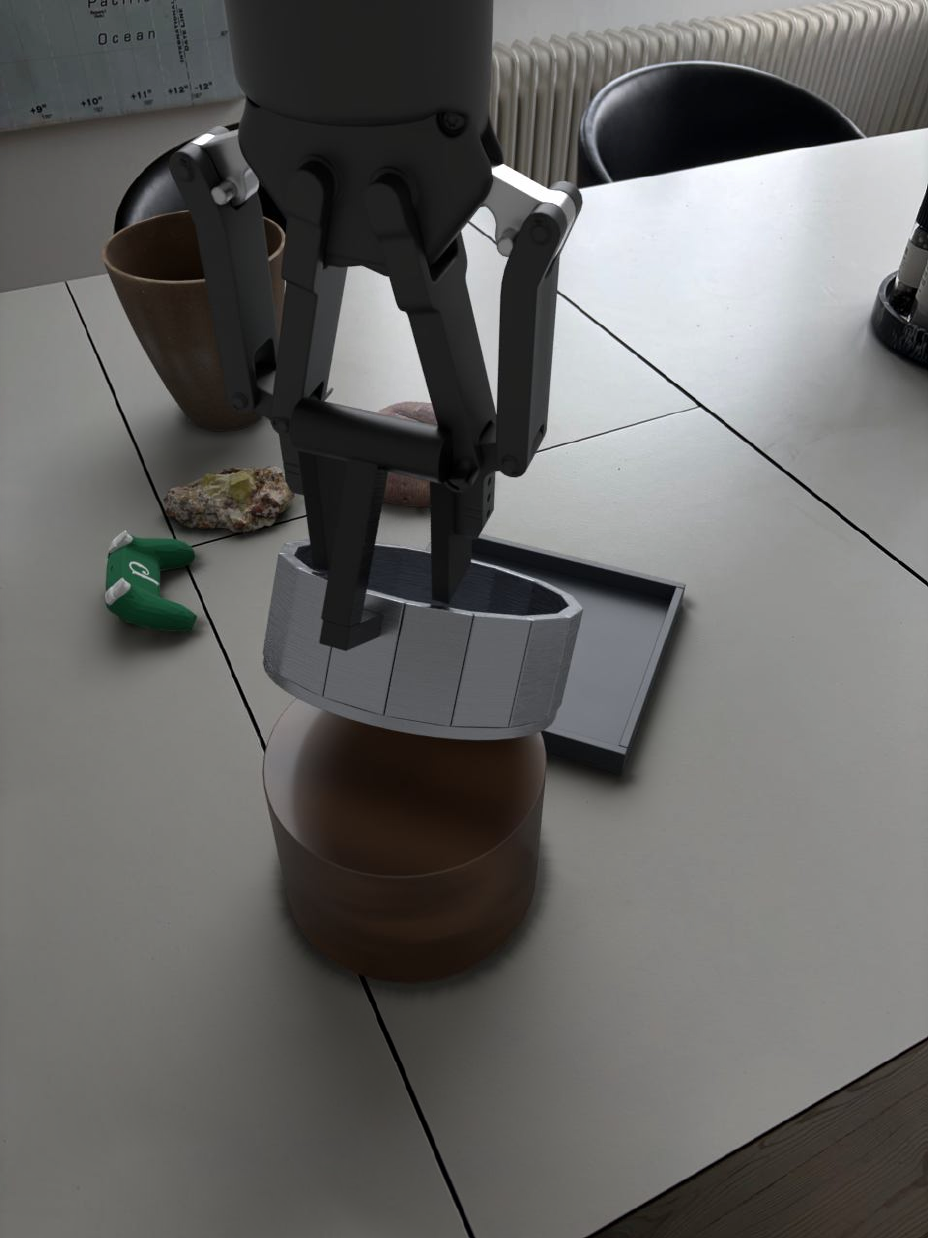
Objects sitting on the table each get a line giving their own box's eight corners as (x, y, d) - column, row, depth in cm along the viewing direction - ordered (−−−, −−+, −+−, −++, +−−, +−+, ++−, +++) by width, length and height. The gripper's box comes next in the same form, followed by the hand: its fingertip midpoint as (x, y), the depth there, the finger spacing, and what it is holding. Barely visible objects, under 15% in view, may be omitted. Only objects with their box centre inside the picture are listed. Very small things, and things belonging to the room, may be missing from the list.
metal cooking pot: (341, 623, 58) (381, 400, 55) (582, 691, 54) (638, 455, 51) (150, 693, 41) (194, 374, 38) (483, 800, 37) (559, 453, 34)
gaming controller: (170, 576, 79) (101, 541, 76) (199, 544, 78) (129, 508, 74) (170, 657, 73) (95, 623, 69) (201, 624, 71) (125, 588, 68)
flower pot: (156, 469, 87) (113, 294, 76) (132, 387, 97) (91, 221, 86) (324, 435, 91) (305, 264, 80) (284, 360, 101) (263, 198, 90)
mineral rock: (288, 444, 86) (295, 474, 79) (297, 492, 88) (304, 525, 81) (160, 464, 84) (155, 496, 77) (172, 513, 86) (168, 548, 79)
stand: (354, 740, 65) (341, 628, 58) (568, 808, 61) (581, 695, 54) (237, 929, 55) (206, 820, 48) (484, 1023, 51) (488, 919, 44)
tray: (442, 543, 80) (442, 523, 78) (681, 604, 74) (686, 583, 73) (345, 692, 68) (343, 671, 66) (622, 775, 63) (625, 755, 61)
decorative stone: (465, 521, 82) (465, 465, 78) (327, 497, 84) (321, 441, 80) (500, 443, 90) (502, 389, 86) (374, 423, 92) (370, 369, 89)
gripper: (713, -70, 27) (613, 561, 44) (148, -124, 32) (253, 470, 48) (649, 4, 22) (564, 683, 39) (-10, -72, 27) (167, 569, 43)
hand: (392, 564), depth 44 cm, fingers closed on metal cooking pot, 5 cm apart
